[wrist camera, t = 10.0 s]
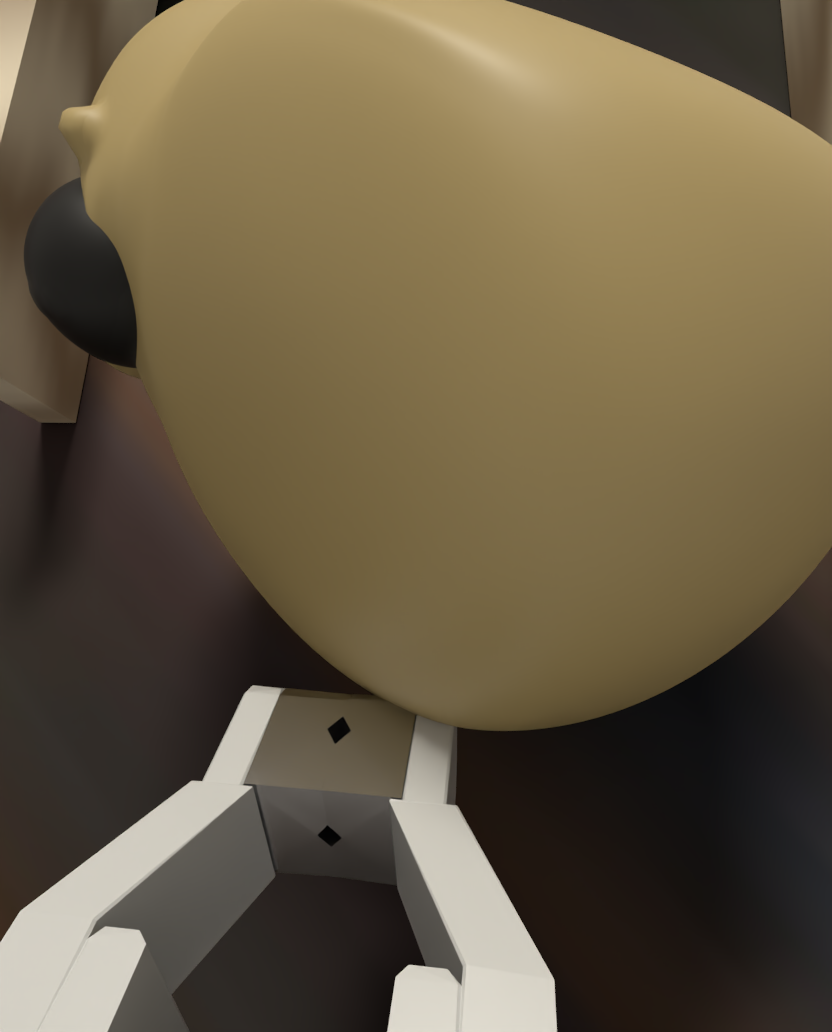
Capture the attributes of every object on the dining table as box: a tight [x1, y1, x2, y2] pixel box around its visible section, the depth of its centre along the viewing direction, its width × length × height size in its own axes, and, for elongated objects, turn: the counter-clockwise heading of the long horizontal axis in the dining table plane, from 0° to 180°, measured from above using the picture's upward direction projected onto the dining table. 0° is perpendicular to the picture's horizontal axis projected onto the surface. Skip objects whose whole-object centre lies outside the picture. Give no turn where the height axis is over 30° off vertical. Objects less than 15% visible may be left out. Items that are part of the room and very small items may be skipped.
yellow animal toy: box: [24, 0, 832, 731], centre depth 10 cm, size 10×12×11 cm
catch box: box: [0, 0, 832, 423], centre depth 16 cm, size 20×20×4 cm
